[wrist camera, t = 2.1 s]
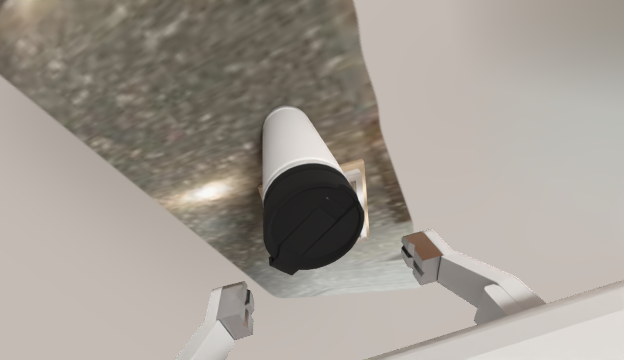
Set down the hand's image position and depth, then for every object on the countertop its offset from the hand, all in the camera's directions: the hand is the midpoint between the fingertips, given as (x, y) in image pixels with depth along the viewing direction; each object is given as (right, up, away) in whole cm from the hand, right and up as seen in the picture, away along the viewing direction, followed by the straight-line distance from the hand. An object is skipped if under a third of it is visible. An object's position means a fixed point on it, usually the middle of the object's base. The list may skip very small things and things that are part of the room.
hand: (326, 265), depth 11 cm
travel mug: (-4, +11, +19) cm, 22 cm away
